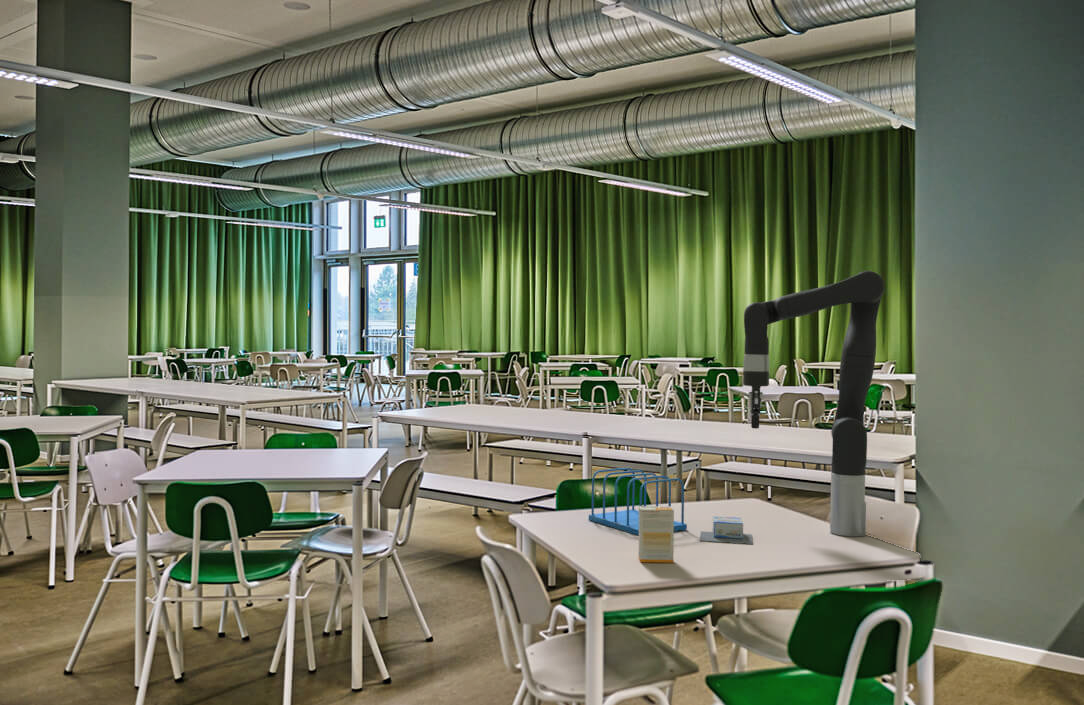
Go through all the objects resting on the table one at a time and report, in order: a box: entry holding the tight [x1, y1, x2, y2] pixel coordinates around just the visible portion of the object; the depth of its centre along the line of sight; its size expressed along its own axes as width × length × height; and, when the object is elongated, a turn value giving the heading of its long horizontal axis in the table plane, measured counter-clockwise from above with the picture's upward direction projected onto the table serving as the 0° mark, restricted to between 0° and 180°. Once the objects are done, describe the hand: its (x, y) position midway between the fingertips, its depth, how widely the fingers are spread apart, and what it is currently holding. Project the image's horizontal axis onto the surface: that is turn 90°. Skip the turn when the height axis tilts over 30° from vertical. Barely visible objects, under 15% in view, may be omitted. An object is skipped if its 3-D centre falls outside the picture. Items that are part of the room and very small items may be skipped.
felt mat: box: [699, 530, 754, 545], centre depth 242 cm, size 14×12×1 cm
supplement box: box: [638, 505, 675, 564], centre depth 214 cm, size 8×5×13 cm, turn 88°
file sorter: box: [588, 467, 688, 536], centre depth 258 cm, size 25×17×15 cm
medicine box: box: [712, 516, 744, 539], centre depth 244 cm, size 8×4×9 cm
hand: (755, 428), depth 260 cm, fingers closed
